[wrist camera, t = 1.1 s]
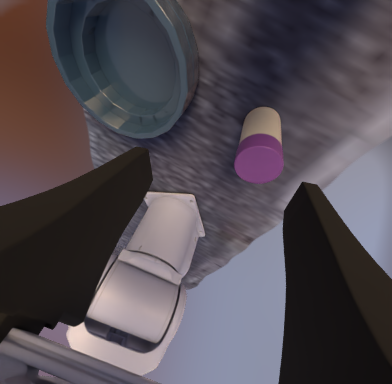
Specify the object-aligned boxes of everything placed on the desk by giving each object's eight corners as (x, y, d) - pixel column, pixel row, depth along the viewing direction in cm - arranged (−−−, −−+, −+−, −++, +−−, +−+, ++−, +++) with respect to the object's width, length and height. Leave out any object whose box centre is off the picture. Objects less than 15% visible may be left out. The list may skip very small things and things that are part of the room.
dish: (210, 116, 18) (200, 136, 15) (118, 123, 21) (98, 140, 19) (184, -60, 11) (159, -72, 9) (54, -9, 14) (11, -7, 12)
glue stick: (279, 139, 17) (280, 185, 13) (243, 140, 18) (235, 183, 14) (283, 103, 15) (286, 145, 11) (242, 107, 16) (232, 146, 12)
